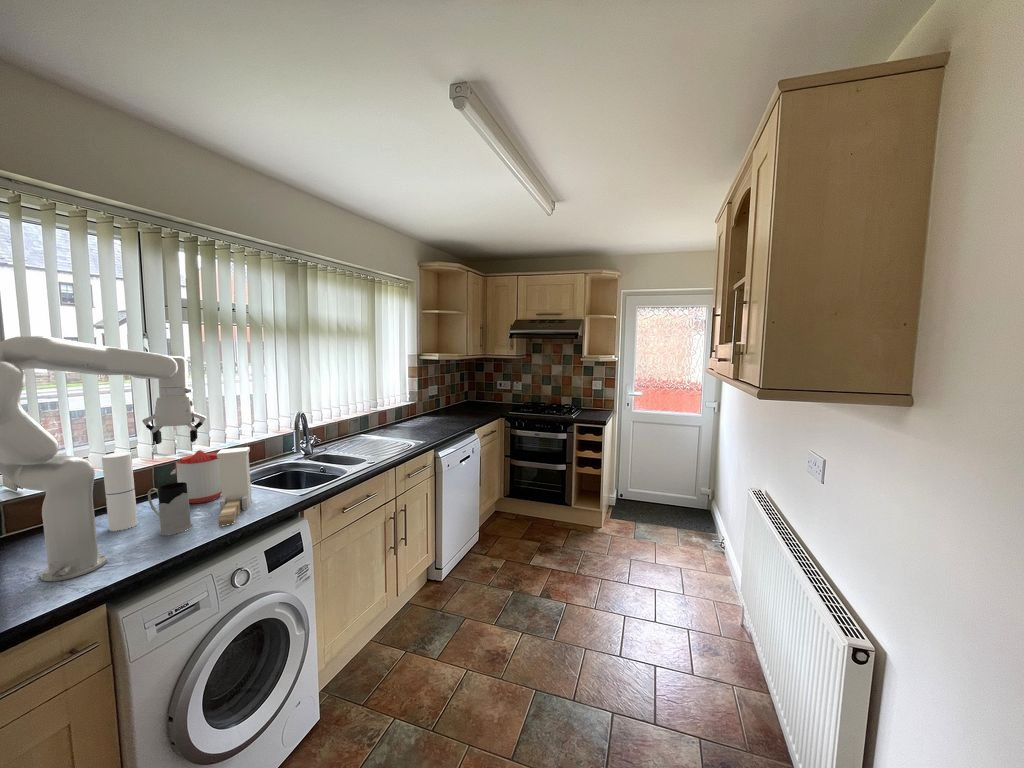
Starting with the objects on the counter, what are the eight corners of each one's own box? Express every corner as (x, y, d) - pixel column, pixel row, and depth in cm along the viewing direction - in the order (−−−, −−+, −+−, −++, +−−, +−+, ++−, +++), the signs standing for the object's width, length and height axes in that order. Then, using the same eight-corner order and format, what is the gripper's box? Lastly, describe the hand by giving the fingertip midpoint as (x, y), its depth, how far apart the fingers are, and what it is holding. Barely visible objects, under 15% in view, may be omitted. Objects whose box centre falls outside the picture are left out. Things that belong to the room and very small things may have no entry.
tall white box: (248, 509, 155) (244, 453, 153) (218, 513, 152) (214, 456, 150) (253, 500, 165) (249, 446, 163) (225, 503, 161) (221, 449, 159)
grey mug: (174, 536, 134) (170, 491, 133) (138, 533, 136) (133, 488, 135) (199, 524, 143) (195, 482, 141) (164, 522, 145) (160, 480, 144)
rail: (233, 525, 142) (232, 514, 142) (219, 527, 141) (218, 516, 140) (242, 508, 158) (241, 497, 157) (229, 509, 156) (228, 499, 156)
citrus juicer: (179, 496, 170) (175, 448, 168) (230, 489, 177) (226, 443, 175) (167, 509, 156) (162, 457, 154) (222, 502, 163) (218, 452, 161)
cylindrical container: (120, 532, 137) (112, 458, 135) (103, 530, 139) (95, 457, 136) (143, 523, 144) (136, 452, 142) (127, 521, 146) (120, 451, 143)
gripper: (207, 391, 147) (209, 438, 148) (146, 392, 141) (149, 442, 142) (201, 392, 140) (203, 442, 141) (136, 394, 134) (139, 446, 135)
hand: (176, 442), depth 142 cm, fingers open, 9 cm apart
